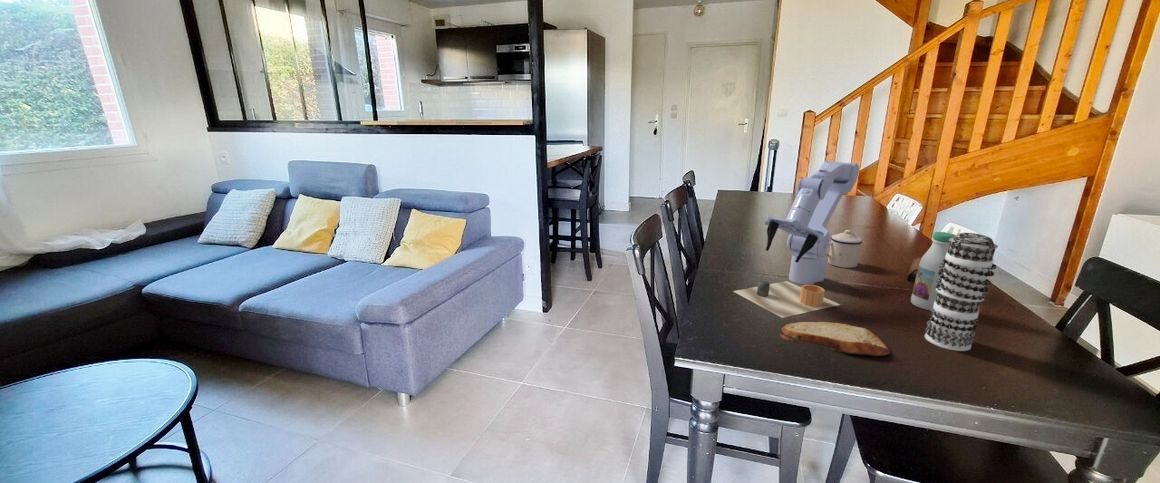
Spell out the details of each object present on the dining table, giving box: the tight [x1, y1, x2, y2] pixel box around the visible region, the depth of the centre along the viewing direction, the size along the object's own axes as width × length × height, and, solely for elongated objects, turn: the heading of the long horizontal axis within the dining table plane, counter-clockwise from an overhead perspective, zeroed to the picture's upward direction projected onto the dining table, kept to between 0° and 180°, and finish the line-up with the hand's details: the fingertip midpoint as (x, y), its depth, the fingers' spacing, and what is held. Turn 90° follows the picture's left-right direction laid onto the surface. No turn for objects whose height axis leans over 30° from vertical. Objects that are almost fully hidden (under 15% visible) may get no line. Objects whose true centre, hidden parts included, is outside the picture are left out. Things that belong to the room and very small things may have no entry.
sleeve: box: [799, 284, 826, 307], centre depth 121 cm, size 5×5×4 cm
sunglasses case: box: [906, 257, 922, 284], centre depth 143 cm, size 18×7×7 cm, turn 142°
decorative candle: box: [923, 232, 999, 352], centre depth 100 cm, size 9×9×25 cm
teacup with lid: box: [823, 229, 863, 269], centre depth 152 cm, size 12×9×12 cm
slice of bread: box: [778, 321, 891, 357], centre depth 103 cm, size 18×18×4 cm
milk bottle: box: [910, 231, 956, 311], centre depth 119 cm, size 8×8×20 cm
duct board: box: [732, 280, 841, 319], centre depth 124 cm, size 20×18×4 cm
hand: (782, 254), depth 119 cm, fingers open, 7 cm apart
